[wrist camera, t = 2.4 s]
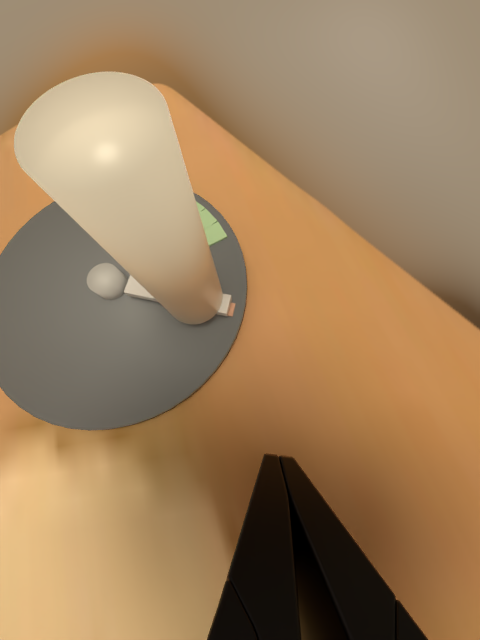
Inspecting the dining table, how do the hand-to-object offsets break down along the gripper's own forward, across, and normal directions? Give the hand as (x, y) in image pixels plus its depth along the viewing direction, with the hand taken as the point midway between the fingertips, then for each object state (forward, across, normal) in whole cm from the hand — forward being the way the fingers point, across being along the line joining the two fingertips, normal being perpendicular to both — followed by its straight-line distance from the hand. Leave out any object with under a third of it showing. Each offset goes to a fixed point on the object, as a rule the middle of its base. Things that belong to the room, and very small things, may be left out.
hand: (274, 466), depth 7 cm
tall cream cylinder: (+13, +6, -2) cm, 14 cm away
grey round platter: (+14, +11, -1) cm, 18 cm away
